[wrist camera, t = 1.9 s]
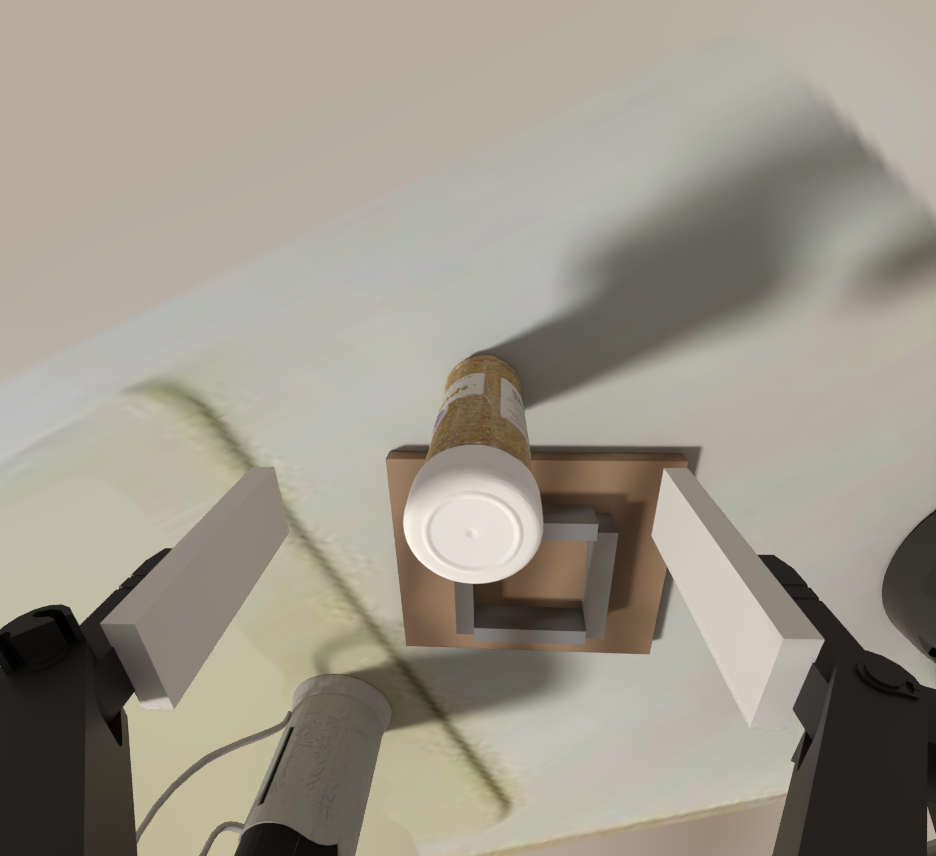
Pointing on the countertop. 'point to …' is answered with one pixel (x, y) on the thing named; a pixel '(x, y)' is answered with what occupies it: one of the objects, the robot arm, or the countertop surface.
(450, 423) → the sprinkles bottle
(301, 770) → the grey mug
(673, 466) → the socket board
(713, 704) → the countertop surface
